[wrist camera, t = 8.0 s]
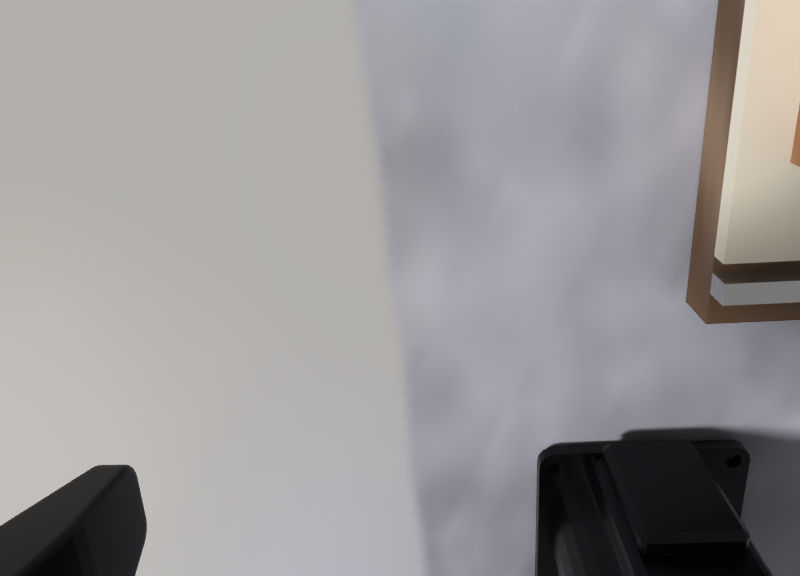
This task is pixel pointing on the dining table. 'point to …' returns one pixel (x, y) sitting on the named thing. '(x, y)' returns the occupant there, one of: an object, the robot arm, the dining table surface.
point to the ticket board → (708, 277)
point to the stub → (764, 140)
